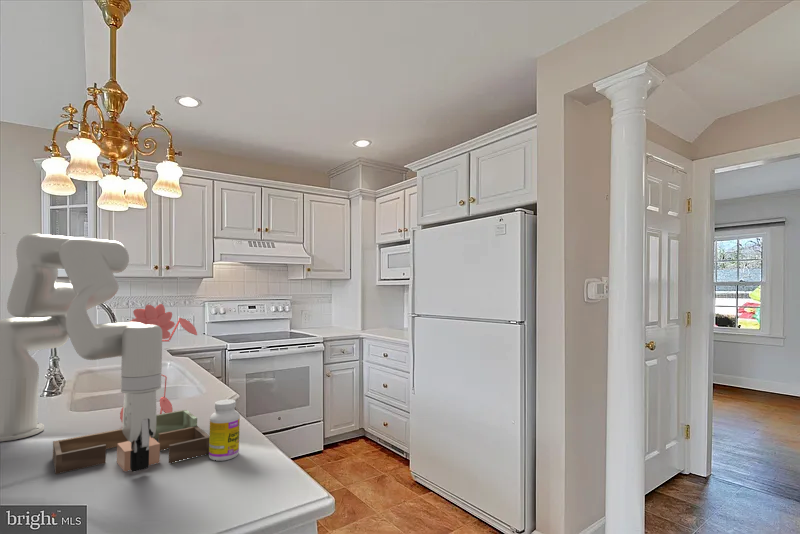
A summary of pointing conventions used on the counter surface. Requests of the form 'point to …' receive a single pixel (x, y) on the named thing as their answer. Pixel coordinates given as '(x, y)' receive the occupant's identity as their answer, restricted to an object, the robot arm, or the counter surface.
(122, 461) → the terracotta block
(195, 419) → the box
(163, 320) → the figurine
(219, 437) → the supplement bottle
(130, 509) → the counter surface
